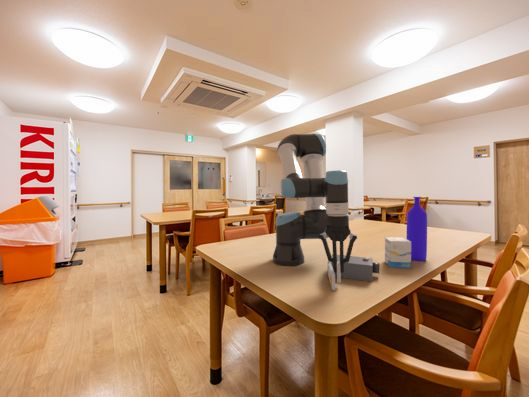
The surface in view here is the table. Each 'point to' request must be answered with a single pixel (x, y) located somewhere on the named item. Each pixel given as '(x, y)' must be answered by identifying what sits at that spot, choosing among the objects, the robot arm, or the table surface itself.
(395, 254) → the ink box
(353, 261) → the camera box
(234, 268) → the table surface
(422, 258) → the bottle
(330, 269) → the side door
